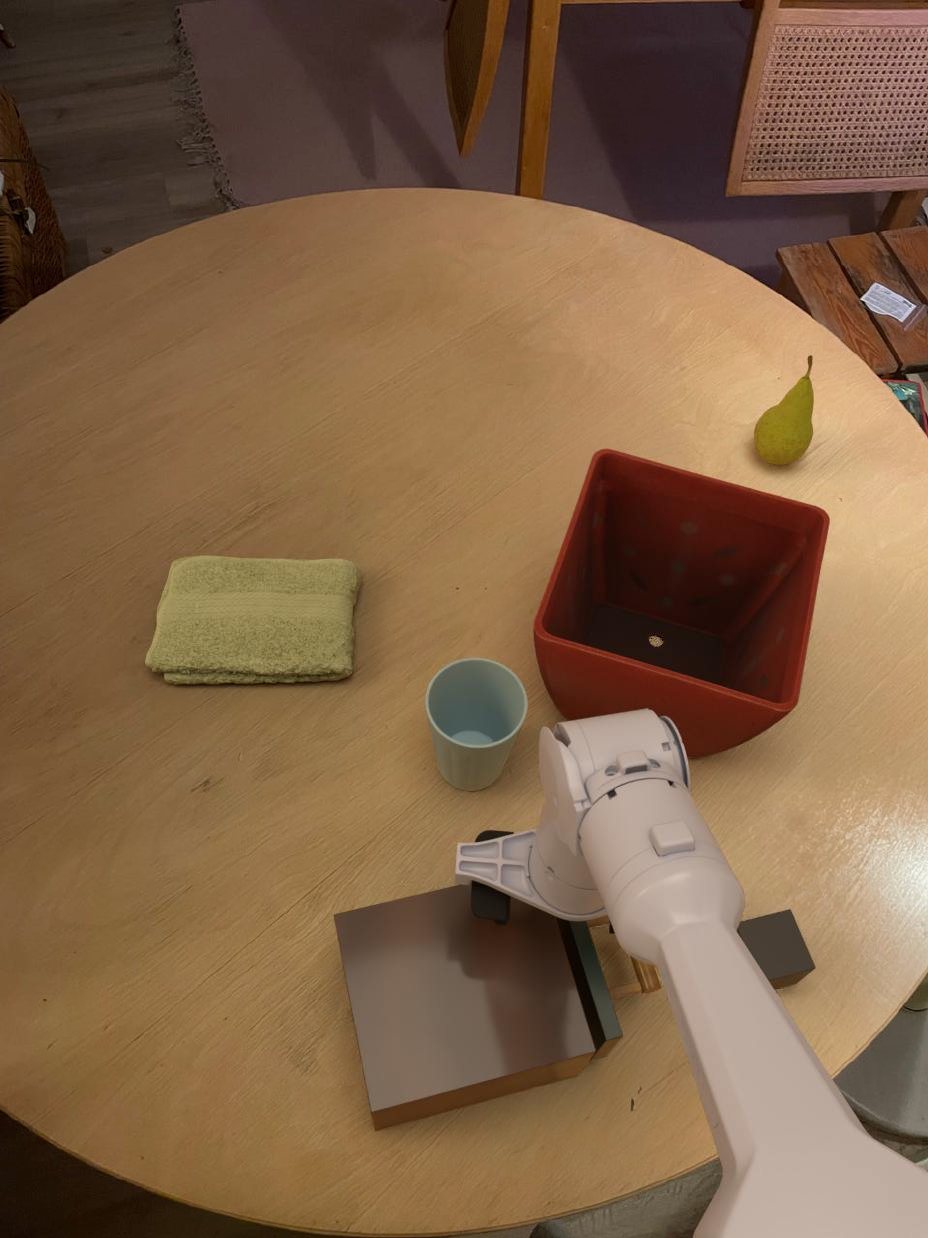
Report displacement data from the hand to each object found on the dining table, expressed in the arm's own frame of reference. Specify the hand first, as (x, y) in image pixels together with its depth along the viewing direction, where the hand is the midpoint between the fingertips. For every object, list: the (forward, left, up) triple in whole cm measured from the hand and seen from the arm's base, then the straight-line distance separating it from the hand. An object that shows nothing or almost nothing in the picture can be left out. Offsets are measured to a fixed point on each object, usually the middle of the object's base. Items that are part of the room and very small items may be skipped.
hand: (557, 914), depth 70 cm
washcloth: (+33, +16, -9) cm, 38 cm away
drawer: (-3, +3, -8) cm, 9 cm away
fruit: (+42, -38, -9) cm, 57 cm away
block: (-5, -16, -9) cm, 19 cm away
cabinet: (-3, +7, -9) cm, 12 cm away
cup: (+16, +1, -9) cm, 19 cm away
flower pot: (+20, -16, -9) cm, 27 cm away
